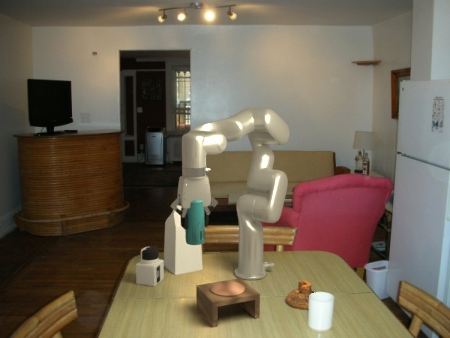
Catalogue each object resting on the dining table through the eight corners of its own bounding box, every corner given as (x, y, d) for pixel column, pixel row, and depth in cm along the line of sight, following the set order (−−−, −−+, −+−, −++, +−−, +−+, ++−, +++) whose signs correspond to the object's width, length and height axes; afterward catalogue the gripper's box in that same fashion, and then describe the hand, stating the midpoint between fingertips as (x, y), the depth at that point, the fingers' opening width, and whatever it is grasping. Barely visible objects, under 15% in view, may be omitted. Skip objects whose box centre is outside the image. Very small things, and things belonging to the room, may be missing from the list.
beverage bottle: (202, 250, 151) (201, 188, 148) (182, 249, 153) (181, 187, 150) (207, 244, 158) (207, 184, 154) (188, 242, 159) (187, 183, 156)
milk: (175, 275, 186) (174, 209, 182) (163, 265, 195) (162, 203, 191) (202, 269, 192) (202, 206, 187) (190, 260, 201) (189, 200, 197)
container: (164, 279, 181) (163, 246, 179) (154, 286, 174) (154, 252, 172) (146, 276, 184) (145, 244, 182) (135, 284, 177) (135, 250, 175)
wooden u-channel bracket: (240, 300, 163) (240, 276, 162) (259, 317, 151) (260, 292, 149) (196, 308, 157) (196, 283, 156) (212, 327, 144) (212, 300, 143)
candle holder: (320, 312, 155) (321, 291, 154) (283, 308, 158) (284, 287, 157) (322, 298, 166) (323, 278, 165) (288, 293, 169) (289, 274, 168)
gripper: (215, 168, 158) (215, 221, 161) (164, 172, 151) (165, 227, 154) (224, 172, 151) (224, 227, 154) (170, 176, 145) (172, 233, 148)
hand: (194, 226), depth 154 cm, fingers closed on beverage bottle, 6 cm apart
